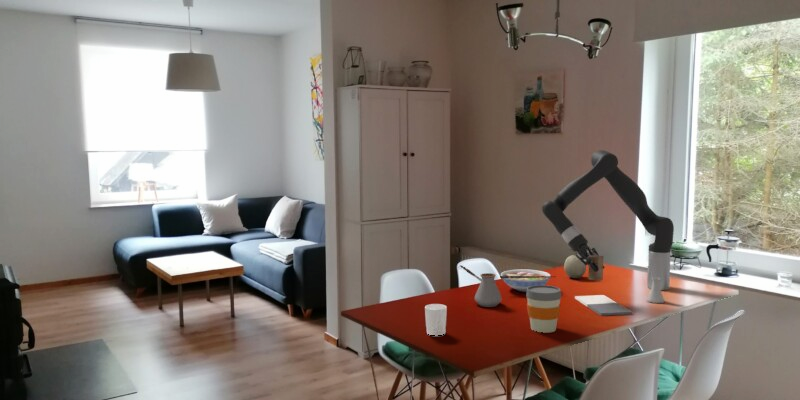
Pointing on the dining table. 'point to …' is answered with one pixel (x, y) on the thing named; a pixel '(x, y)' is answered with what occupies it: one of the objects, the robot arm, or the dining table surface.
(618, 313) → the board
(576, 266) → the fruit
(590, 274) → the block
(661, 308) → the dining table surface
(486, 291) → the coffee pot
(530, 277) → the ramen bowl
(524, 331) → the dining table surface
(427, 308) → the white cup
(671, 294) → the dining table surface
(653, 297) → the flask
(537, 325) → the reusable coffee cup
